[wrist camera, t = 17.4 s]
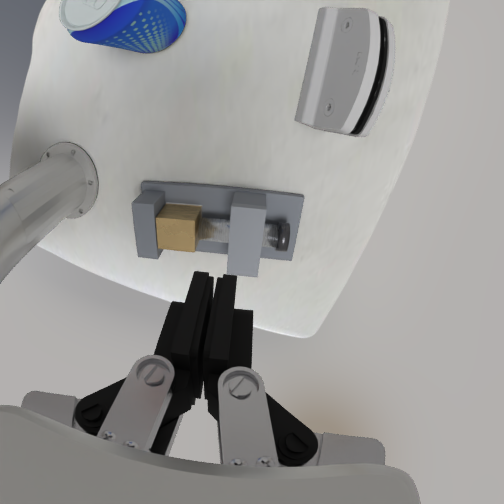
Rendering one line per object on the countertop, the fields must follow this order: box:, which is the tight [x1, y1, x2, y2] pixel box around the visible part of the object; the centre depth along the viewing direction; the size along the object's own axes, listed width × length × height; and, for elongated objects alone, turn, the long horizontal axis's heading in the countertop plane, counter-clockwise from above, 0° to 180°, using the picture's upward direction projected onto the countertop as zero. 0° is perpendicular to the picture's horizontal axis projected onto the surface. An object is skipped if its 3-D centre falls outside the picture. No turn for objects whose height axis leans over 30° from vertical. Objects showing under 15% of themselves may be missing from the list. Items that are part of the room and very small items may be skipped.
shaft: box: [198, 217, 290, 252], centre depth 36 cm, size 11×4×4 cm, turn 84°
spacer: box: [156, 203, 202, 252], centre depth 36 cm, size 5×4×4 cm
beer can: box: [59, 0, 186, 53], centre depth 18 cm, size 8×8×16 cm
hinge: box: [295, 7, 395, 137], centre depth 24 cm, size 17×5×10 cm, turn 170°
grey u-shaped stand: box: [132, 181, 304, 277], centre depth 36 cm, size 22×10×6 cm, turn 84°
